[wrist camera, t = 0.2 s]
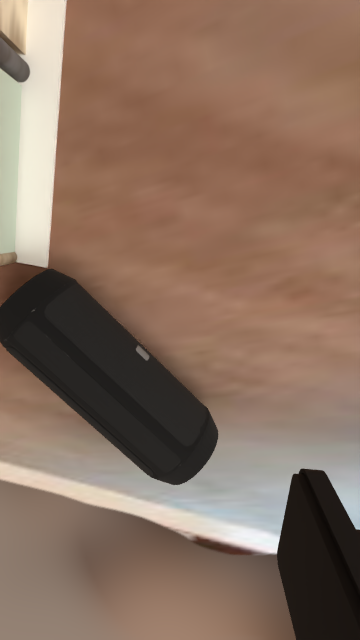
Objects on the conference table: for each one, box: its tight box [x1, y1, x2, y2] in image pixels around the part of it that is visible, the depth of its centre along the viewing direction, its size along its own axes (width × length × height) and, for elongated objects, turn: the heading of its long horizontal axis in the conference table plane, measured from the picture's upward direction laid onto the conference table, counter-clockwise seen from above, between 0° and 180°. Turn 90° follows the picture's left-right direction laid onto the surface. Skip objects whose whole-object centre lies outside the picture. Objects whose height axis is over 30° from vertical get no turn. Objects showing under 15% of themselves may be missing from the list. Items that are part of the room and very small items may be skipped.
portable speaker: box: [0, 269, 218, 485], centre depth 37 cm, size 26×10×10 cm, turn 44°
